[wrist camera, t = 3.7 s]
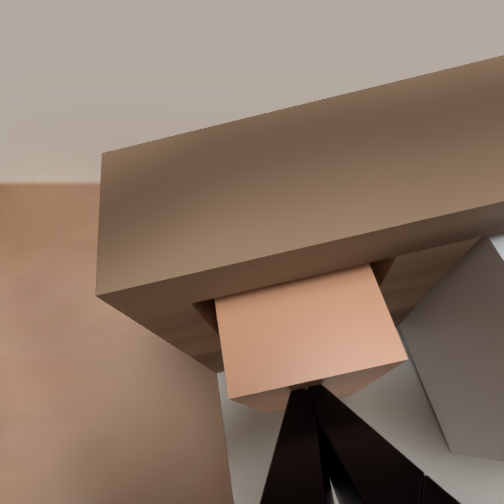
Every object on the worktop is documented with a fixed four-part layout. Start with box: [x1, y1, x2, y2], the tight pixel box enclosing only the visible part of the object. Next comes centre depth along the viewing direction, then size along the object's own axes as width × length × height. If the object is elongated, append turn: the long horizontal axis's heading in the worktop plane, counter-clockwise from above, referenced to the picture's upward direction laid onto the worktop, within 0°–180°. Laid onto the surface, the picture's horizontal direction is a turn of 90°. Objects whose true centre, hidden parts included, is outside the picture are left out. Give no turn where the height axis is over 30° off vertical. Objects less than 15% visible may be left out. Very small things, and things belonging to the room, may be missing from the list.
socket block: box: [95, 55, 504, 504], centre depth 10 cm, size 15×15×11 cm
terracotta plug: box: [214, 263, 408, 413], centre depth 12 cm, size 6×4×8 cm, turn 11°
